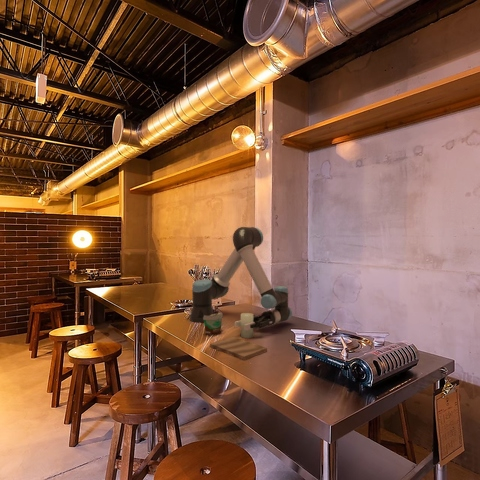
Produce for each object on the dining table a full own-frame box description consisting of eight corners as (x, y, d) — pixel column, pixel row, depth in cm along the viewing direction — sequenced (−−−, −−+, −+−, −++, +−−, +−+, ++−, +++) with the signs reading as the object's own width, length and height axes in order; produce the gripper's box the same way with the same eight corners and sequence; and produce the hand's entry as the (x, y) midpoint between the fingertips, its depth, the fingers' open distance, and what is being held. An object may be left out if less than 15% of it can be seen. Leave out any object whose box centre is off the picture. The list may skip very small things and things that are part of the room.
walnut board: (210, 346, 144) (210, 343, 144) (232, 339, 154) (232, 336, 154) (244, 360, 128) (244, 356, 128) (267, 351, 138) (266, 347, 138)
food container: (212, 337, 158) (212, 317, 157) (203, 335, 161) (203, 315, 161) (227, 331, 167) (227, 312, 167) (219, 329, 171) (218, 310, 171)
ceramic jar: (238, 336, 159) (238, 314, 159) (247, 333, 164) (246, 312, 163) (247, 338, 155) (247, 316, 154) (256, 336, 159) (256, 314, 159)
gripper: (284, 328, 165) (254, 338, 149) (257, 321, 179) (226, 329, 162) (284, 313, 165) (254, 322, 148) (257, 307, 178) (226, 315, 162)
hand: (239, 326), depth 155 cm, fingers closed on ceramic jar, 6 cm apart
